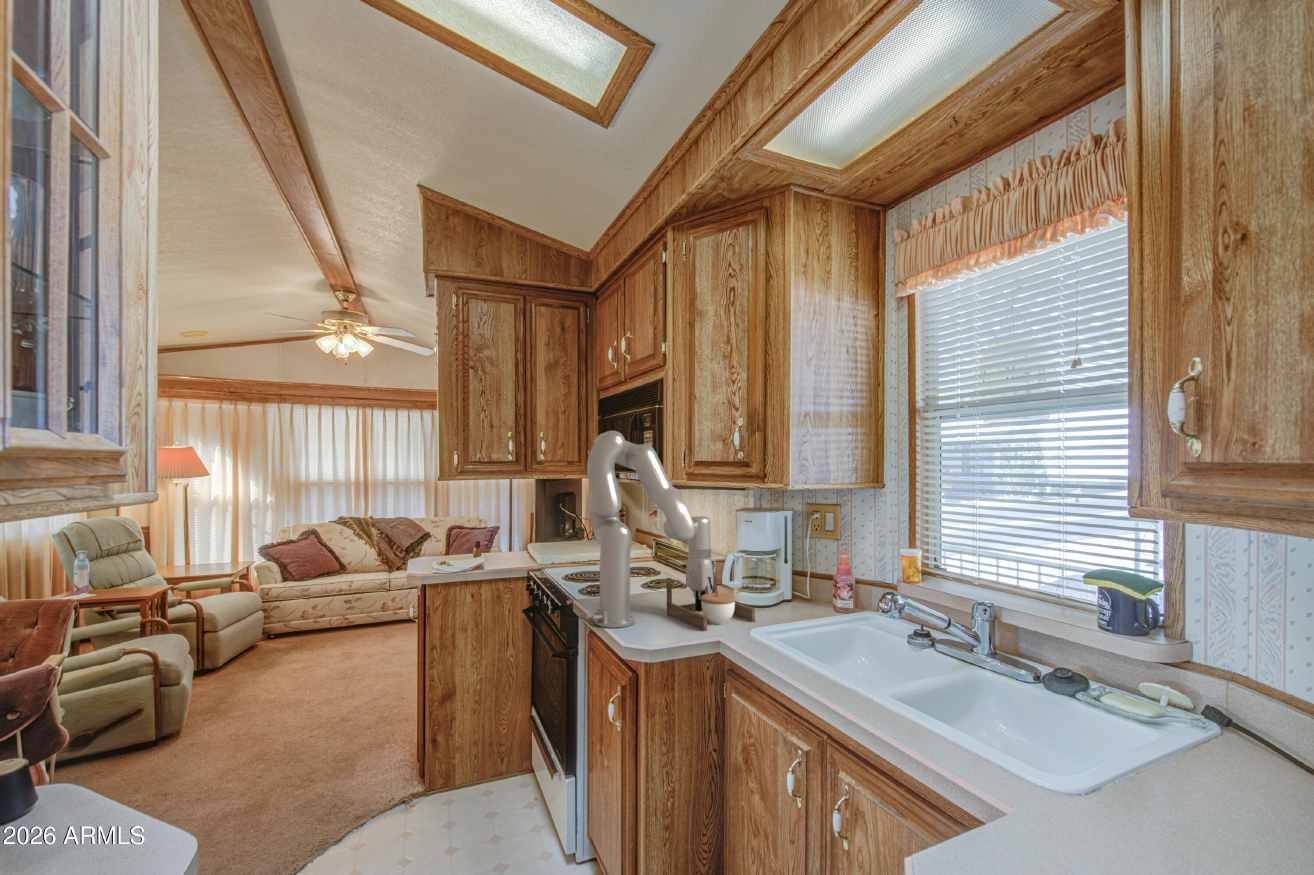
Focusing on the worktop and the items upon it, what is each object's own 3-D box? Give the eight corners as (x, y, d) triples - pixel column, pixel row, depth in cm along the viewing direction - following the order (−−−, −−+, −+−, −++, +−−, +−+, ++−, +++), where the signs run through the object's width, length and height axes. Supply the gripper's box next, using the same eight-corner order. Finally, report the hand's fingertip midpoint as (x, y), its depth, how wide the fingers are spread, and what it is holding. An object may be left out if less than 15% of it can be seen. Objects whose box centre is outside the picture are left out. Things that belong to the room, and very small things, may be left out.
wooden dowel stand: (703, 631, 164) (702, 589, 165) (666, 615, 182) (666, 578, 183) (755, 621, 173) (754, 582, 174) (715, 607, 192) (714, 572, 193)
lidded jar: (724, 628, 166) (724, 596, 167) (694, 622, 173) (694, 592, 173) (741, 620, 175) (741, 590, 175) (712, 615, 181) (712, 586, 182)
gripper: (678, 552, 188) (678, 607, 187) (703, 558, 175) (704, 617, 174) (696, 550, 192) (697, 604, 191) (722, 556, 179) (723, 614, 178)
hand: (700, 610), depth 183 cm, fingers closed
